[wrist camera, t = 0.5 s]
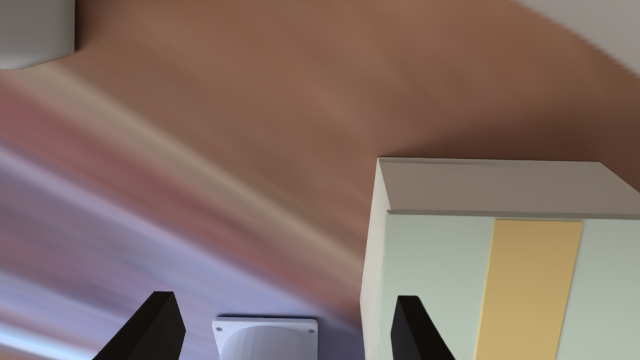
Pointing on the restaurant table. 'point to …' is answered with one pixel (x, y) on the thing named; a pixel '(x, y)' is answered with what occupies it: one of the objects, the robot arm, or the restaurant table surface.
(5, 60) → the flask
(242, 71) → the restaurant table surface
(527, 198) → the parcel box
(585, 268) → the box lid
